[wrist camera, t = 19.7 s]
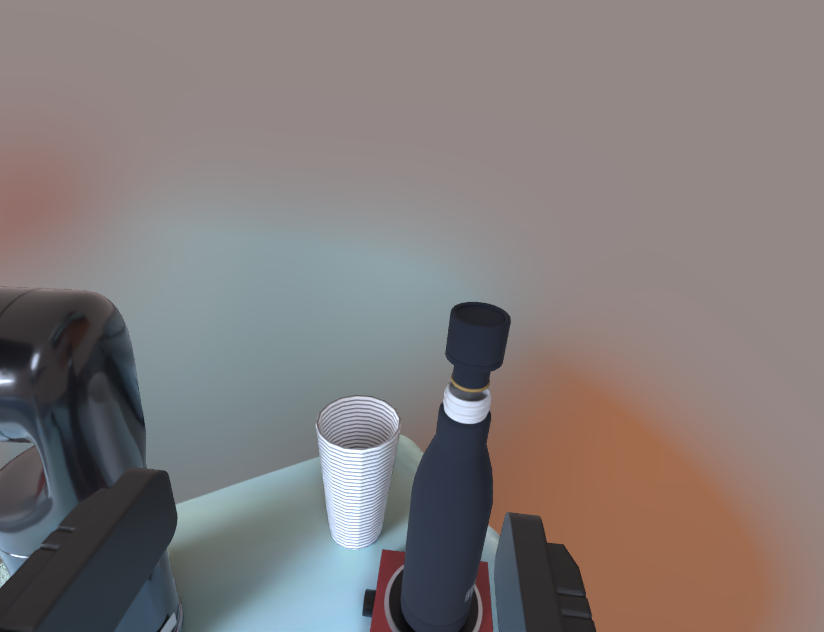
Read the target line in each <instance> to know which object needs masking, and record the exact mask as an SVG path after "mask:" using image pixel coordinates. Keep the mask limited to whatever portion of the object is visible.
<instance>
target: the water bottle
mask: <svg viewBox="0 0 824 632" xmlns="http://www.w3.org/2000/svg"><path fill="white" fill-rule="evenodd" d="M510 323H511V319H510V316H509V315H508V313H506V312H505V311H504V310H503V309H501V308H499V307H497V306H494V305H491V304H487V303H481V302H467V303H460V304H458V305H455V306H454V307H453V308H452V310H451V314H450V322H449V329H448V337H447V345H446V353H445V355H446V357H447V359H448V360H449V361H450V362H451V363H452V364H453V365H454V369H453V373H452V376H451V381H450V382H449V383H448V386H447V387H446V389H445V391H444V399H443V402H442V403H441V405H440V408H439V414H438V421H437V430H436V435H435V436H434V438H433V439H432V441H431V443H430V444H429V446H428V448H427V449H426V451H425V453H424V454H423V456H422V459H421V461H420V464H419V466H418V469H417V472H416V475H415V478H414V482H413V486H412V494H411V503H410V513H409V522H408V532H407V541H406V551H405V560H404V570H403V579H402V589H401V598H400V601H401V609H402V613H403V615H404V617H405V619H406V622H407V623H408V624H409V625H410V626H411V627H412V628H413V630H414V631H416V632H458V631H459V630H460V629H461V628H462V627H463V626H464V625H465V622H466V620H467V617H468V615H469V610H470V606H471V601H472V596H473V592H474V587H475V583H476V578H477V573H478V569H479V564H480V560H481V555H482V550H483V546H484V541H485V537H486V532H487V527H488V523H489V518H490V514H491V509H492V504H493V478H492V467H491V463H490V458H489V453H488V449H487V445H486V443H487V438H488V432H489V427H490V422H491V413H490V403H491V395H490V389H489V383H490V380H489V377H490V372H491V371H494V370H496V369H498V368H500V366H501V365H502V363H503V359H504V354H505V348H506V344H507V338H508V333H509V328H510Z"/></svg>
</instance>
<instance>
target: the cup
mask: <svg viewBox="0 0 824 632" xmlns="http://www.w3.org/2000/svg"><path fill="white" fill-rule="evenodd" d="M315 424H316V431H317V439H318V446H319V454H320V462H321V469H322V477H323V485H324V492H325V500H326V508H327V515H328V523H329V529H330V533H331V537H332V538H333V539H334V541H335V542H336V543H337V544H338V545H340V546H342V547H344V548H346V549H353V550H359V549H362V548H366V547H368V546H370V545H371V544H372V543H374V542H375V541H376V540H377V538H378V537H379V535H380V533H381V531H382V525H383V520H384V515H385V509H386V504H387V499H388V493H389V488H390V483H391V477H392V472H393V467H394V461H395V456H396V451H397V445H398V440H399V435H400V428H401V418H400V416H399V414H398V412H397V410H396V409H395V408H394V407H393V406H391V405H390V404H388V403H387V402H386V401H384V400H381V399H378V398H375V397H372V396H361V395H354V396H348V397H343V398H339V399H337V400H335V401H333V402H331V403H329V404H327V405H326V406H325V407H324V408H323V409H322V410H321V411H320V412H319V414H318V417H317V420H316V423H315Z"/></svg>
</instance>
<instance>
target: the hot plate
mask: <svg viewBox="0 0 824 632" xmlns="http://www.w3.org/2000/svg"><path fill="white" fill-rule="evenodd" d="M404 560H405V552H400V551H392V550H384V549H383V550H382V555H381V562H380V568H379V575H378V582H377V588H376V590H370V589H366V591H365V597H364V603H363V613H362V615H363V616H366V617H372V621H371V628H370V632H416V631H414V630H413V628H412V627H411V626H410V625H409V624H408V623H407V622H406V619H405V617H404V615H403V613H402V609H401V601H400V598H401V589H402V579H403V570H404ZM458 632H493V622H492V610H491V597H490V585H489V572H488V562H483V561H480V564H479V569H478V573H477V578H476V583H475V587H474V592H473V596H472V601H471V606H470V610H469V615H468V617H467V620H466V622H465V625H464V626H463V627H462V628H461V629H460V630H459V631H458Z"/></svg>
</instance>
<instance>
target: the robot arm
mask: <svg viewBox="0 0 824 632" xmlns="http://www.w3.org/2000/svg"><path fill="white" fill-rule="evenodd" d="M0 442H26V443H33V444H34V446H32V447H30V448H29V449H27V450H25V451H24V452H22V453H20V454H19V455H18V456H16V457H15V458H13V459H12V460H11V461H9V462H8V463H7V464H6V465H5V466H4V467H2V468H1V469H0V557H1V559H2V561H3V563H4V565H5V567H6V569H7V571H8V573H9V575H10V578H9V579H8V580H7V581H6V583H5V584H4V585H3V586H2V587H1V588H0V632H181V629H182V625H183V609H182V605H181V601H180V598H179V596H178V594H177V590H176V586H175V581H174V577H173V573H172V568H171V564H170V560H169V556H168V552H167V547H168V545H169V544H170V542H171V540H172V538H173V535H174V533H175V530H176V525H177V511H176V506H175V502H174V498H173V493H172V488H171V483H170V479H169V475H168V473H167V472H166V471H162V470H154V469H147V467H146V429H145V423H144V416H143V410H142V405H141V399H140V393H139V387H138V380H137V373H136V366H135V359H134V353H133V348H132V342H131V339H130V335H129V331H128V328H127V326H126V323H125V321H124V319H123V317H122V315H121V313H120V312H119V310H118V309H117V307H116V306H115V305H114V304H113V303H112V302H111V301H110V300H109V299H107V298H106V297H104V296H103V295H101V294H98V293H95V292H90V291H84V290H72V289H50V288H28V287H7V286H0ZM494 583H495V595H496V606H497V617H498V628H499V632H596V628H595V625H594V621H593V620H592V614H591V610H590V606H589V603H588V599H587V598H586V592H585V588H584V585H583V581H582V577H581V573H580V570H579V567H578V565H577V564H576V562H575V561H574V560H573V558H572V557H571V555H570V554H569V552H568V551H567V549H566V548H565V546H564V545H563V544H554V543H547V541H546V536H545V532H544V528H543V523H542V520H541V518H540V516H535V515H527V514H518V513H509V512H507V513H506V515H505V518H504V523H503V527H502V531H501V535H500V539H499V543H498V547H497V552H496V557H495V566H494Z"/></svg>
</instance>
